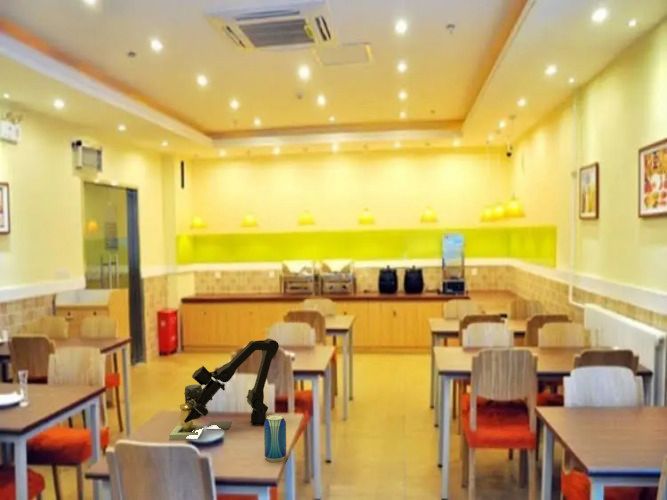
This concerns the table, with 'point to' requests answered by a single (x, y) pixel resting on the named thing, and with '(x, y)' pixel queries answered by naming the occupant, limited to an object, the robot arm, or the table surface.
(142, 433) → the table surface
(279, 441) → the beer can
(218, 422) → the mat
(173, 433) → the housing
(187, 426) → the brass cover
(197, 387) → the camera lens
